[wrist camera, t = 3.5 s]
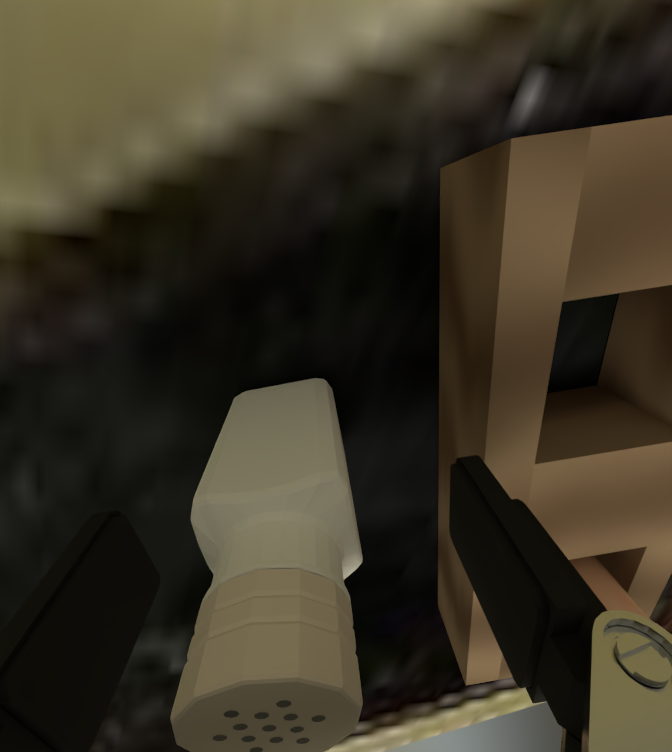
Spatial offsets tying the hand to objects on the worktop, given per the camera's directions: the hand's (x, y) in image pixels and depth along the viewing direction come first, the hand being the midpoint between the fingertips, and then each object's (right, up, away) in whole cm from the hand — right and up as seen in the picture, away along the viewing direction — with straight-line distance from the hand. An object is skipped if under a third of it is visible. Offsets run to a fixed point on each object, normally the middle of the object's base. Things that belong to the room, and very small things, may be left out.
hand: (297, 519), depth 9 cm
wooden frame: (+11, +1, +6) cm, 12 cm away
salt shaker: (-1, +2, +5) cm, 5 cm away
